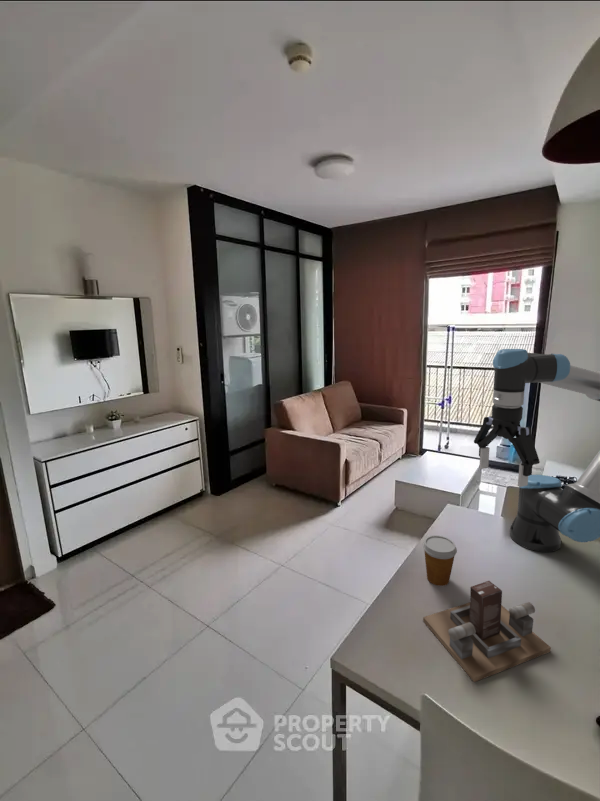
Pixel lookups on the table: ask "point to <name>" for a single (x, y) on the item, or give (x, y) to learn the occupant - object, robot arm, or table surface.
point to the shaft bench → (488, 640)
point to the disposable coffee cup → (439, 559)
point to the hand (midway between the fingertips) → (502, 476)
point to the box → (485, 609)
